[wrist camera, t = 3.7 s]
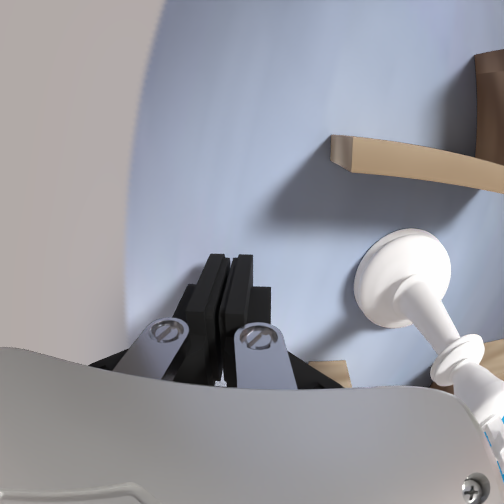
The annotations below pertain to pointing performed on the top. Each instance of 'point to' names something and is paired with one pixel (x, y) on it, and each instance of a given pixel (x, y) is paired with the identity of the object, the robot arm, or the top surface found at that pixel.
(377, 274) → the chess piece
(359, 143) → the box
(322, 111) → the top surface
